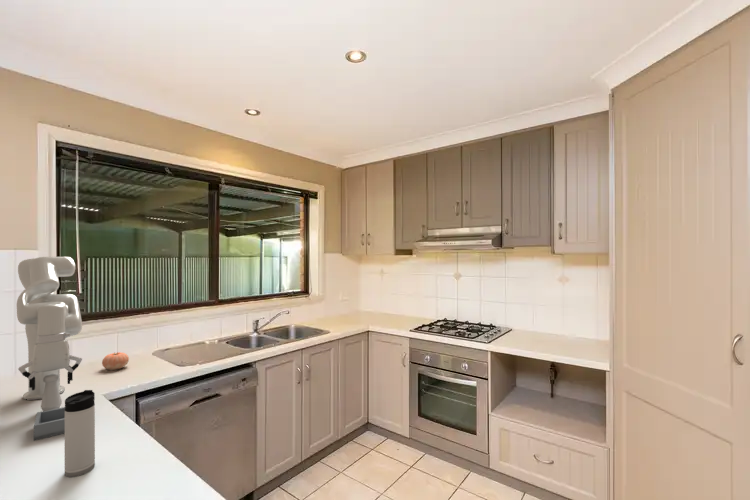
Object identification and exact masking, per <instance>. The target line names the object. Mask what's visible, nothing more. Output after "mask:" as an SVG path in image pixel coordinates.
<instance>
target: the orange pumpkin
mask: <svg viewBox="0 0 750 500" xmlns="http://www.w3.org/2000/svg"><path fill="white" fill-rule="evenodd" d="M129 360H130V358H129V355H128V354H127V353H125V352H121V351H120V352H119V351H117V352H112V353H108V354H107V355H106V356H104V357H103V358H102V360H101V364H102V367H103V368H104V369H106V370H108V371H115V370H120V369H122V368H124V367H126V365H128V363H129Z"/></svg>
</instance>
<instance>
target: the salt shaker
mask: <svg viewBox="0 0 750 500" xmlns="http://www.w3.org/2000/svg"><path fill="white" fill-rule="evenodd" d="M58 379H59V375H58V374H49V375H46V376H45V377H44V379H43V382H45V388H44V393H43V397H42V399H41V403H40V409H41V412H42V411H47V410H52V409H57V408H61V406H62V401H63V400H62V398H61V397H62V396H61V393H59V389H58V385H57V380H58Z"/></svg>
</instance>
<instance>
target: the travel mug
mask: <svg viewBox="0 0 750 500" xmlns="http://www.w3.org/2000/svg"><path fill="white" fill-rule="evenodd" d="M95 399H96V397H95V392H94V391H93V389H85V390H83V391H81V392H77V393H74V394H71V395H69V396H68V397H66V398H65V400H64V407H65V433H64V476H65V477H70V478H73V477H74V478H75V477H79V476H82V475H85V474H87V473H89V472H90V471H92V470H93V469H94V468H95V466H96V460H95V459H96V455H95V452H96V447H95V446H96V440H95V439H96V435H95V434H96V433H95V432H96V426H95V425H96V414H95V413H96V411H95V410H96V404H95V403H96V402H95Z"/></svg>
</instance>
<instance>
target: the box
mask: <svg viewBox="0 0 750 500" xmlns="http://www.w3.org/2000/svg"><path fill="white" fill-rule="evenodd" d="M59 435H65V406H63V407H60V408H57V409H52V410H47V411H42V410H41V411H38V412H36V416H35V421H34V424H33V441H39V440H42V439H46V438H51V437H55V436H59Z"/></svg>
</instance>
